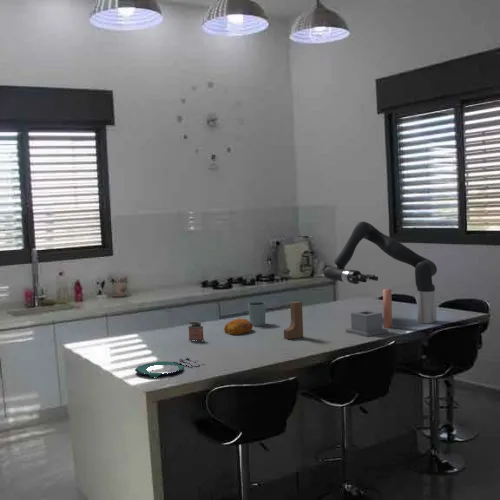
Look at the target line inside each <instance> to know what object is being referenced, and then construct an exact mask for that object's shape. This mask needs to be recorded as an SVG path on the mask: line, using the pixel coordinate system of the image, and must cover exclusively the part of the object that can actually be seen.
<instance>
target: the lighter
mask: <svg viewBox="0 0 500 500" xmlns="http://www.w3.org/2000/svg"><path fill="white" fill-rule="evenodd" d="M187 329H188V341H189V340H195V341H194V342H203V341H202V340H204V341H205V339H204V325H202V322H201V321H198V320H195V321H194V320H193V321H189V325H188V328H187ZM196 340H197V341H196Z"/></svg>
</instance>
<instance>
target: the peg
mask: <svg viewBox="0 0 500 500" xmlns="http://www.w3.org/2000/svg"><path fill="white" fill-rule="evenodd" d="M392 302H393V301H392V289H391V288H390V289H389V288H383V289H382V319H383V328H384V329H392V328H393V304H392Z"/></svg>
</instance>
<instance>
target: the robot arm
mask: <svg viewBox="0 0 500 500" xmlns="http://www.w3.org/2000/svg"><path fill="white" fill-rule="evenodd" d="M363 239H365V240H367V241H369V242H371V243H373V244H375V245H376V246H377V247H378V248H379V249H380V250H382V252H384V253H385V254H386V255H388V256H389V257H391V258H392V259H394V260H396V261H398V262H401V263H404V264H407V265H409V266H411V267H414V276H415V277H414V278H415V286H416V293H417V294H416V297H417V299H416V301H417V305H416V306H417V322H418V323H419V324H434V323H436V322H437V304H436V287H435V285H434V283H433V277H434V276H435V275H436V274H437V271H438V267H437V265H436V264H435V262H433V261H432V260H431V259H429V258H426V257H424V256H422V255H420V254H418V253H416V252H415V251H414V250H412V249H410V248H409V247H407V246H405V245H404V244H402V243H401V242H399V241H398V240H397V239H395V238H393V237H391V236H389V235H386V234H385V233H383V232H381V231H380V230H379V229H377V228H376V227H375V226H373V224H370V222H366V221H359V222H358V223H356V225H355V226H354V227H353V230H352V232H351V234H350V236H349V238H348V240H347V241H346V243H345V245H344V247H343V248H342V249H341V250H340V253H338V255H337V256H336V258H335V259H334V264H335V265H336V267H335V266H326V267H325V268H324V270H323V276H324V277H325V278H326V279H329V280H330V281H332V282H338V281H339V282H343V283H347V284H354V285H358V284H360V283H367V282H369V281H379V276H376V274H369V273H368V274H364V273H361V271H359V270H355V269H345V268H346V266H347V265H348V263H349V262H350V261H351V259H352V257H353V255H354V253H355V251H356V248H357V246H358V245H359V243H360V242H361V241H362V240H363ZM435 321H436V322H435ZM433 322H434V323H433Z"/></svg>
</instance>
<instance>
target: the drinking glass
mask: <svg viewBox="0 0 500 500" xmlns="http://www.w3.org/2000/svg"><path fill="white" fill-rule="evenodd" d="M247 307H248V317H249V322H251V323H252V325H253V327H261V326H265V325H266V312H267V311H266V309H267V303H266V302H264V301H263V302H262V301H254V302H249V303H247Z"/></svg>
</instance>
